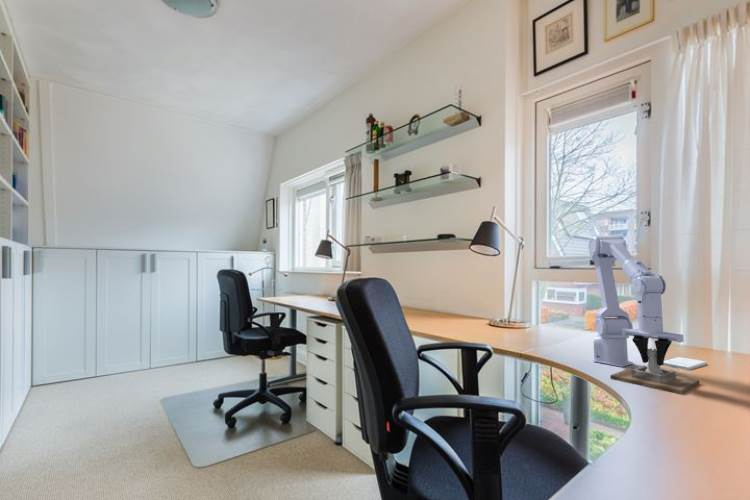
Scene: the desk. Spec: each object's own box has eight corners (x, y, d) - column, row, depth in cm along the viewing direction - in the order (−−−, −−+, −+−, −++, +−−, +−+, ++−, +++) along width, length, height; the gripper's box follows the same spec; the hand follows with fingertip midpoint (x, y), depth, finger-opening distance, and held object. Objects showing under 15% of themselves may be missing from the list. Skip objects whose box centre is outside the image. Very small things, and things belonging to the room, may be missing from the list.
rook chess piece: (666, 380, 104) (665, 351, 105) (647, 378, 106) (646, 350, 106) (661, 375, 108) (659, 348, 109) (643, 374, 110) (641, 347, 110)
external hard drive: (707, 366, 123) (688, 372, 117) (677, 361, 130) (659, 366, 124) (706, 361, 123) (688, 366, 117) (677, 356, 130) (658, 361, 124)
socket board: (610, 378, 110) (609, 368, 110) (631, 370, 118) (630, 361, 118) (681, 394, 96) (680, 382, 96) (699, 383, 104) (699, 372, 104)
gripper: (616, 315, 112) (618, 360, 111) (675, 320, 99) (678, 371, 99) (627, 313, 115) (629, 357, 115) (684, 318, 103) (688, 367, 103)
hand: (652, 363), depth 107 cm, fingers closed on rook chess piece, 3 cm apart
